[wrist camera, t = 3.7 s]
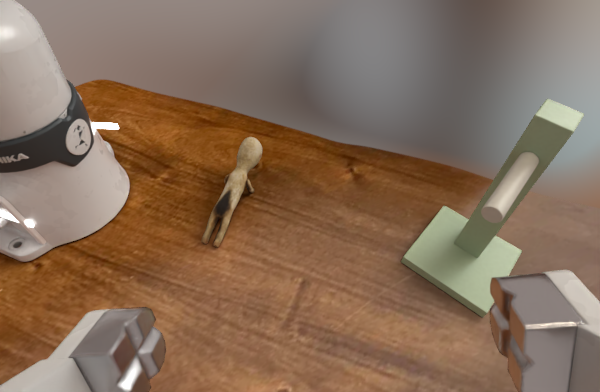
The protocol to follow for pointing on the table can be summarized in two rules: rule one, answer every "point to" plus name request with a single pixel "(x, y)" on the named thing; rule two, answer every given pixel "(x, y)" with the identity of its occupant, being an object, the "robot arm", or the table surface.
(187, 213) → the table surface
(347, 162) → the table surface
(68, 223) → the robot arm
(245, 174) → the figurine
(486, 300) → the hook stand
